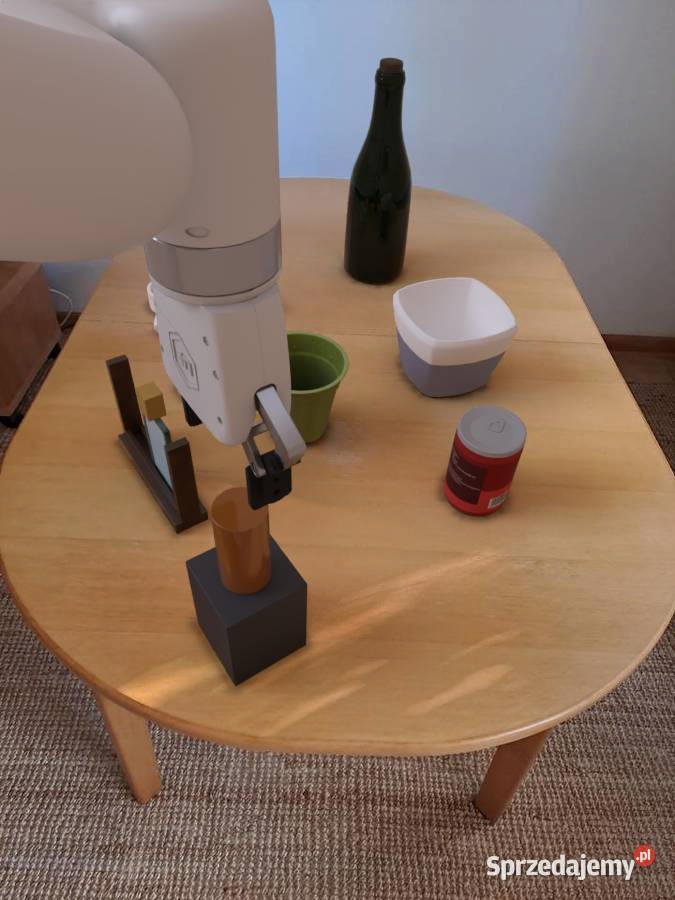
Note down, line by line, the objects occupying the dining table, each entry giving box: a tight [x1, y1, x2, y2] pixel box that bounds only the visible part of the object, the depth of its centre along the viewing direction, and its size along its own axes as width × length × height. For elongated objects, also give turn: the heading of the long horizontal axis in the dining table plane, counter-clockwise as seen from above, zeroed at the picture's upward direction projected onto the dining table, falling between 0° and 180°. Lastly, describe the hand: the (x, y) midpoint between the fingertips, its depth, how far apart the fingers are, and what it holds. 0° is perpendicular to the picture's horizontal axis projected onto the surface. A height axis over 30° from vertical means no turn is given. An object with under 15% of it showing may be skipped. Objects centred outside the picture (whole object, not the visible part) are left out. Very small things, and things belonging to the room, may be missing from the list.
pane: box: [135, 381, 173, 493], centre depth 74 cm, size 2×7×14 cm, turn 34°
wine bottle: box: [343, 57, 413, 285], centre depth 105 cm, size 10×10×33 cm
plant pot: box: [286, 330, 350, 444], centre depth 85 cm, size 12×12×11 cm
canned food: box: [443, 404, 528, 517], centre depth 78 cm, size 8×8×11 cm
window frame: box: [104, 354, 210, 535], centre depth 77 cm, size 4×17×13 cm, turn 34°
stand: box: [185, 533, 308, 687], centre depth 64 cm, size 8×8×11 cm
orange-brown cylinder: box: [209, 486, 272, 595], centre depth 56 cm, size 5×5×9 cm
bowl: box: [392, 276, 519, 398], centre depth 94 cm, size 15×15×11 cm
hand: (236, 456), depth 49 cm, fingers open, 9 cm apart
